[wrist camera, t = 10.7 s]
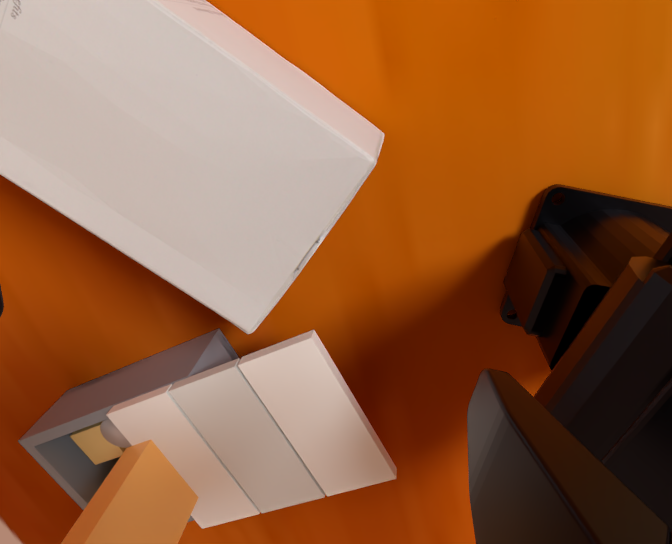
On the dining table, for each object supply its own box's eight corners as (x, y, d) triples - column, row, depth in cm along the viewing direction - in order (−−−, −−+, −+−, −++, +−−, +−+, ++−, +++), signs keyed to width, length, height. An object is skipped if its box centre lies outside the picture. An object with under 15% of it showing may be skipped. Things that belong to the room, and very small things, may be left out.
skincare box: (-2, 80, 20) (282, 275, 23) (-143, 96, 15) (248, 348, 18) (65, -123, 17) (391, 135, 20) (-87, -196, 12) (390, 172, 14)
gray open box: (219, 328, 25) (187, 376, 21) (293, 438, 27) (277, 497, 24) (67, 390, 28) (17, 441, 24) (147, 483, 30) (113, 541, 27)
